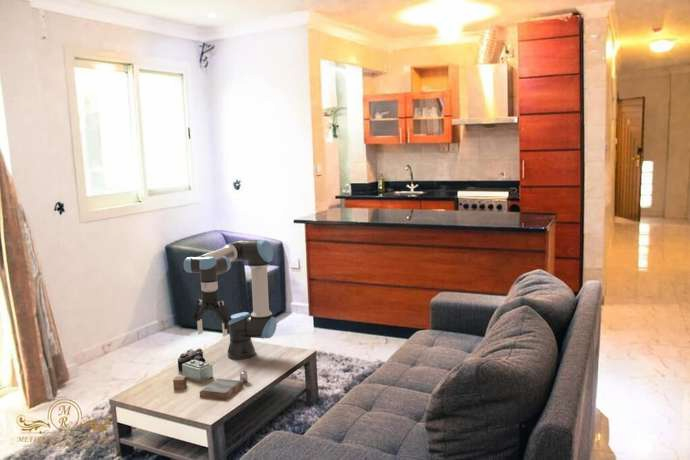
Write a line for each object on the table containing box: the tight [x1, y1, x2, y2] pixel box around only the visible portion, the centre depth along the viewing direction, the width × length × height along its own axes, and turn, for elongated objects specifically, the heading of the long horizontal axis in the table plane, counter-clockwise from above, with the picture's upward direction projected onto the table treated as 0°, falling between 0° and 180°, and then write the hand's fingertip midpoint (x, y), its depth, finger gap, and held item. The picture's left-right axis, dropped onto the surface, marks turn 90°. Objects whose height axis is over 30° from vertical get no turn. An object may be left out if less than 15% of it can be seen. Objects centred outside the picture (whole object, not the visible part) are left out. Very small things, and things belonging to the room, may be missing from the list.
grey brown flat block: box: [199, 378, 244, 401], centre depth 273 cm, size 16×14×3 cm
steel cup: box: [239, 370, 249, 384], centre depth 284 cm, size 4×4×5 cm
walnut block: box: [172, 375, 187, 391], centre depth 280 cm, size 5×5×5 cm
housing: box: [181, 360, 214, 384], centre depth 293 cm, size 8×14×8 cm, turn 54°
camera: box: [177, 347, 206, 373], centre depth 305 cm, size 16×10×10 cm, turn 145°
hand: (212, 334), depth 268 cm, fingers open, 13 cm apart
